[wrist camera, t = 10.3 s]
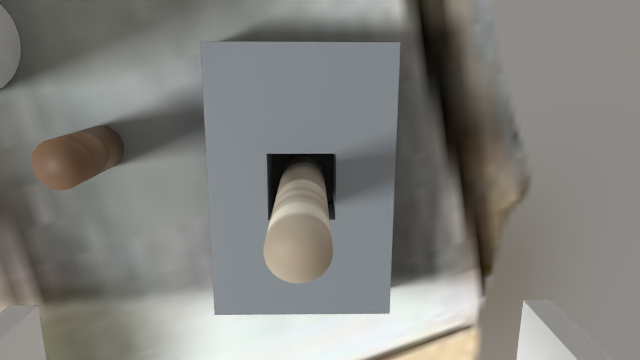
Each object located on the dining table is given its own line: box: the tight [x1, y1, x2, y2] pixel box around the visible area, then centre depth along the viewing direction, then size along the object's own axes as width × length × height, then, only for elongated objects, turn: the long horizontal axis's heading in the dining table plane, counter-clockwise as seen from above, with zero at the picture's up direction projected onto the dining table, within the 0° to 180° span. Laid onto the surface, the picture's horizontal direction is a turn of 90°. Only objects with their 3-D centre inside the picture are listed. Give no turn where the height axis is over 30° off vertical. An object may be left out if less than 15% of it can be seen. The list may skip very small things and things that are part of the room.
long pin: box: [263, 157, 333, 283], centre depth 27 cm, size 3×3×14 cm
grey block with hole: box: [200, 41, 400, 315], centre depth 32 cm, size 18×12×4 cm, turn 0°
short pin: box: [31, 126, 124, 190], centre depth 30 cm, size 3×3×6 cm
